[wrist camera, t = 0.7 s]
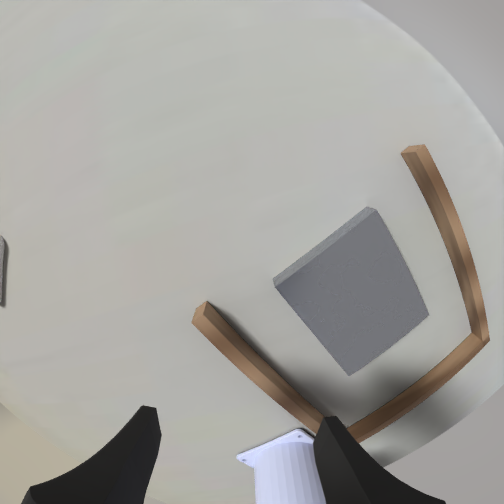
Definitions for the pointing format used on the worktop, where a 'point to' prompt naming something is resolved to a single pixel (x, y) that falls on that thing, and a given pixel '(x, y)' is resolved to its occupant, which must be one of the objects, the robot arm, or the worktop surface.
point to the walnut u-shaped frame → (469, 284)
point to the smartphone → (1, 263)
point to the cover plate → (354, 291)
